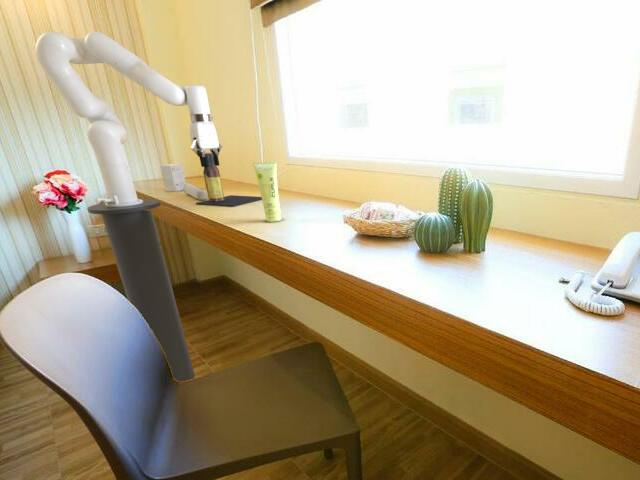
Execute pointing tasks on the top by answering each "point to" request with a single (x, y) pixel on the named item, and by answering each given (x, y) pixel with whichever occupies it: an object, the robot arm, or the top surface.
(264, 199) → the tube
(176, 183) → the small box
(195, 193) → the tube
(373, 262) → the top surface
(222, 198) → the sauce bottle
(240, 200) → the mat
